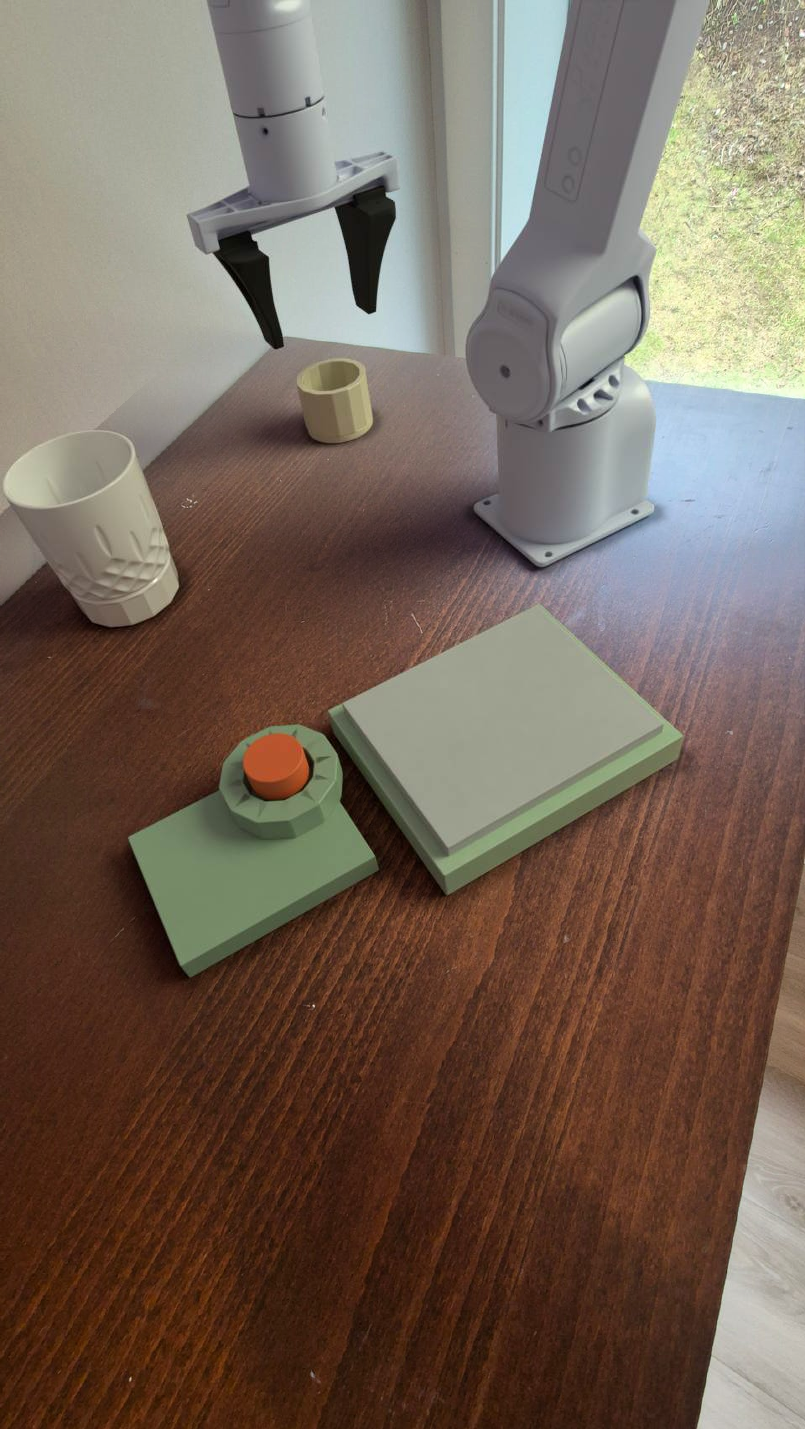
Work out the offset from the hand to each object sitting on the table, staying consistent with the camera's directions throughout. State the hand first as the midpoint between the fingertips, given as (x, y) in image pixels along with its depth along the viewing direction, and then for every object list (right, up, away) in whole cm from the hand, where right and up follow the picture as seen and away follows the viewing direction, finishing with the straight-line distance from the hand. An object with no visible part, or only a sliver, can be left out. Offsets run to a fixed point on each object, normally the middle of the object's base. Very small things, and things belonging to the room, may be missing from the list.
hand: (321, 326), depth 60 cm
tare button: (0, -32, -19) cm, 37 cm away
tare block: (-1, -36, -19) cm, 41 cm away
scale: (+11, -30, -16) cm, 36 cm away
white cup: (-12, -21, -4) cm, 24 cm away
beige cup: (+1, -5, +6) cm, 8 cm away
